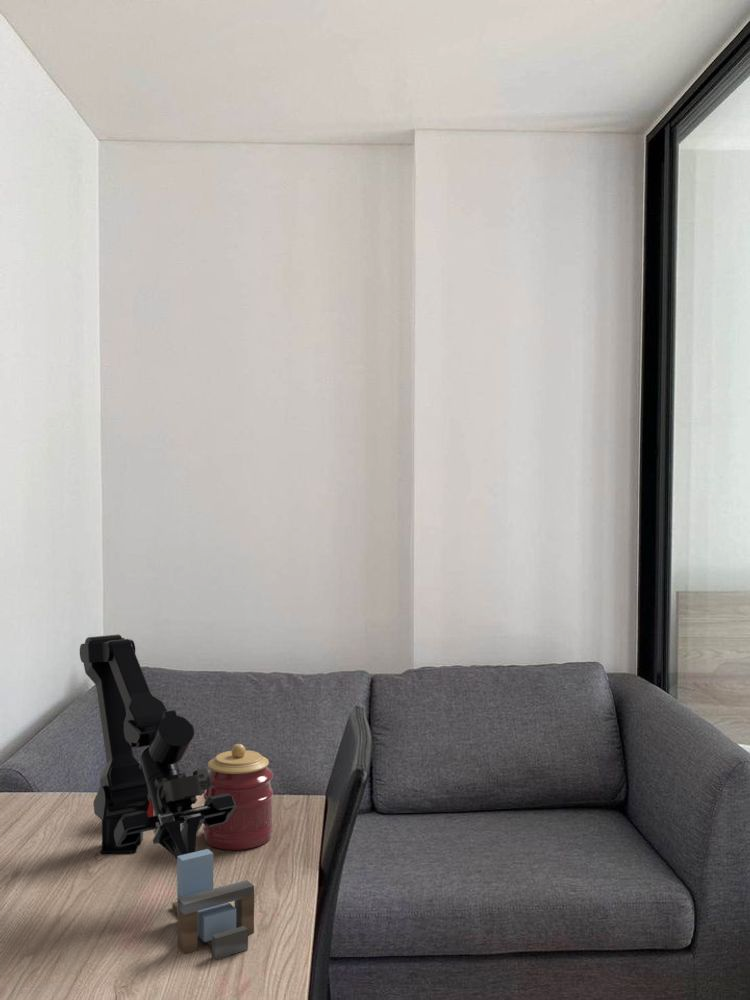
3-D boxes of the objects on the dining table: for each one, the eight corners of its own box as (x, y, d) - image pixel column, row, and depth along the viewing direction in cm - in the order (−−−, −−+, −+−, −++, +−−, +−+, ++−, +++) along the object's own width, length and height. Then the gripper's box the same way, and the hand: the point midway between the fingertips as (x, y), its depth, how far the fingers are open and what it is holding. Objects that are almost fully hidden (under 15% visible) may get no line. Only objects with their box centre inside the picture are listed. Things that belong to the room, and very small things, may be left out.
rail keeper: (147, 914, 143) (147, 869, 143) (213, 896, 149) (213, 853, 149) (195, 966, 128) (195, 915, 128) (266, 943, 134) (266, 896, 134)
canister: (285, 841, 172) (285, 747, 172) (221, 857, 165) (221, 758, 164) (253, 820, 183) (253, 731, 182) (192, 834, 175) (192, 741, 175)
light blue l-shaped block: (177, 914, 141) (177, 856, 141) (207, 906, 144) (207, 848, 144) (204, 942, 133) (204, 879, 132) (236, 932, 135) (236, 871, 135)
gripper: (120, 763, 141) (146, 859, 133) (231, 743, 152) (262, 832, 143) (103, 799, 148) (127, 893, 139) (211, 778, 159) (239, 864, 150)
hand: (191, 869), depth 143 cm, fingers closed
